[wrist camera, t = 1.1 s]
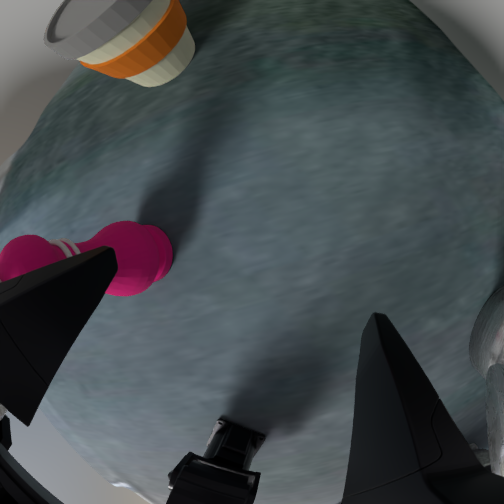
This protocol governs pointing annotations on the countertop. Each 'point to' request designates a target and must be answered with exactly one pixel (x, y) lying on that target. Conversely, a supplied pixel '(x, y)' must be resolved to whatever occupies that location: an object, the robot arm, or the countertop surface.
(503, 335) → the steel pot
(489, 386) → the steel lid
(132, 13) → the reusable coffee cup
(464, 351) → the countertop surface
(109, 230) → the pepper mill
